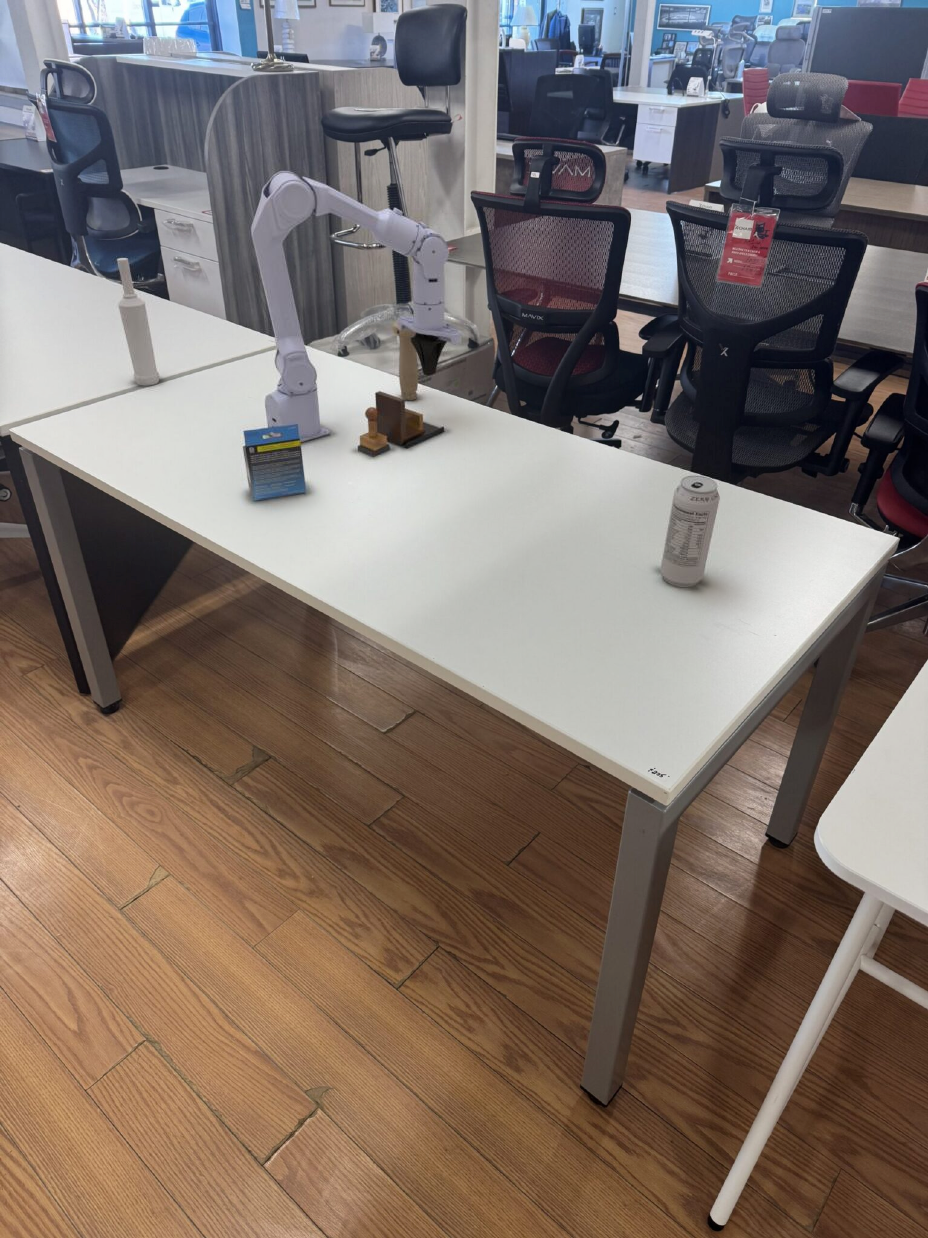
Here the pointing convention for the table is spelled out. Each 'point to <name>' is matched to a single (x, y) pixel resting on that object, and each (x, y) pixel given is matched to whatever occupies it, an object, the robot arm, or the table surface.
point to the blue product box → (274, 462)
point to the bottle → (137, 330)
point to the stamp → (373, 436)
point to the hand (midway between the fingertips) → (429, 373)
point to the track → (429, 432)
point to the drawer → (397, 419)
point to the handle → (407, 363)
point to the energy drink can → (690, 531)
